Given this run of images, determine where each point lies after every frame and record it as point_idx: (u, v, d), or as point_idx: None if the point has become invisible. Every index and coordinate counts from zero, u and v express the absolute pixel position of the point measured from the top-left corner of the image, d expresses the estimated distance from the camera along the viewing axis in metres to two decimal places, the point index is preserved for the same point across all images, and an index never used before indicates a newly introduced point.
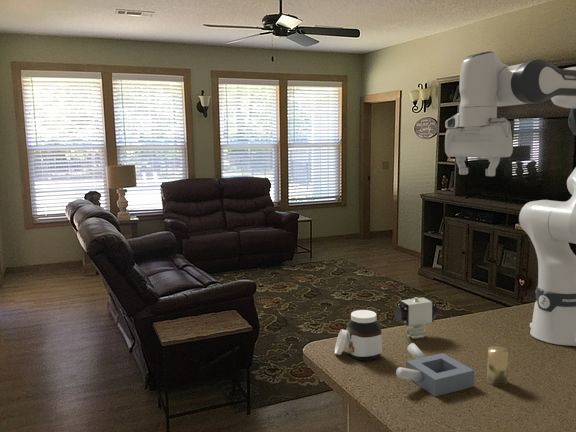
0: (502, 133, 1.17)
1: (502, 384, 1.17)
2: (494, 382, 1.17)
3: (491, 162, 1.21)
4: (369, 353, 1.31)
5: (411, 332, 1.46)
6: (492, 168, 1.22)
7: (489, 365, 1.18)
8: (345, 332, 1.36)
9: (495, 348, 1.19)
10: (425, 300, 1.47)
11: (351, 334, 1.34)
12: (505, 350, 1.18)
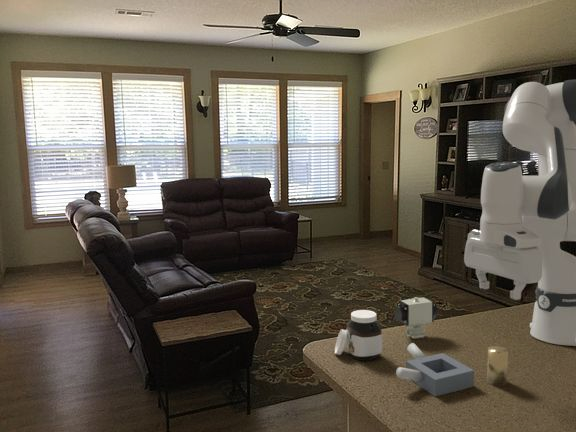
0: None
1: (502, 384, 1.17)
2: (494, 382, 1.17)
3: None
4: (369, 353, 1.31)
5: (411, 332, 1.46)
6: None
7: (489, 365, 1.18)
8: (345, 332, 1.36)
9: (495, 348, 1.19)
10: (425, 300, 1.47)
11: (351, 334, 1.34)
12: (505, 350, 1.18)
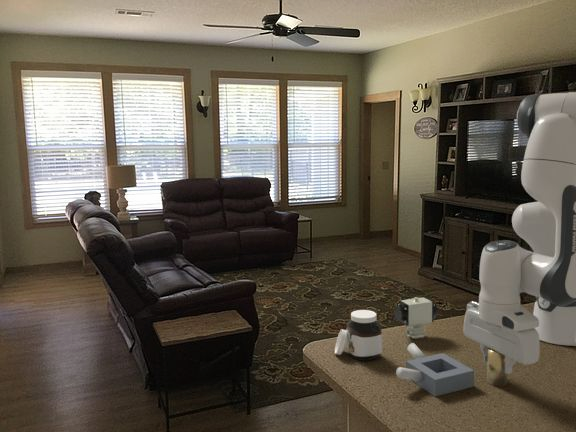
0: None
1: (502, 384, 1.17)
2: (494, 382, 1.17)
3: None
4: (369, 353, 1.31)
5: (411, 332, 1.46)
6: None
7: (489, 365, 1.18)
8: (345, 332, 1.36)
9: None
10: (425, 300, 1.47)
11: (351, 334, 1.34)
12: None
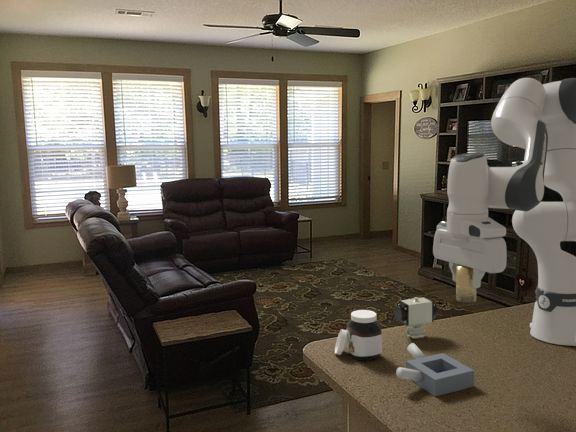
0: None
1: (471, 300, 1.14)
2: (463, 298, 1.15)
3: None
4: (369, 352, 1.31)
5: (411, 332, 1.46)
6: None
7: (458, 281, 1.16)
8: (345, 332, 1.36)
9: None
10: (425, 300, 1.47)
11: (351, 334, 1.34)
12: None
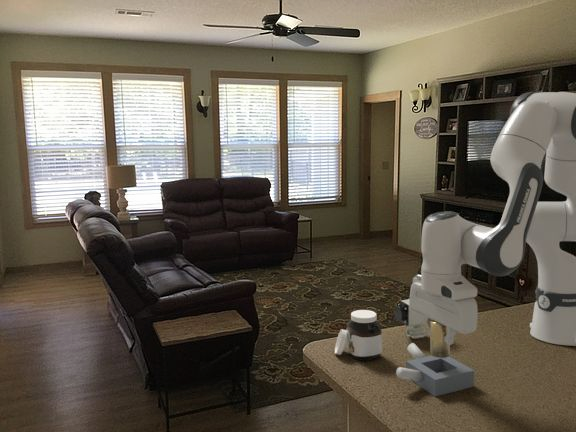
0: None
1: (444, 355, 1.17)
2: (436, 353, 1.17)
3: None
4: (369, 353, 1.31)
5: (411, 332, 1.46)
6: None
7: (431, 337, 1.18)
8: (345, 332, 1.36)
9: None
10: None
11: (351, 334, 1.34)
12: None
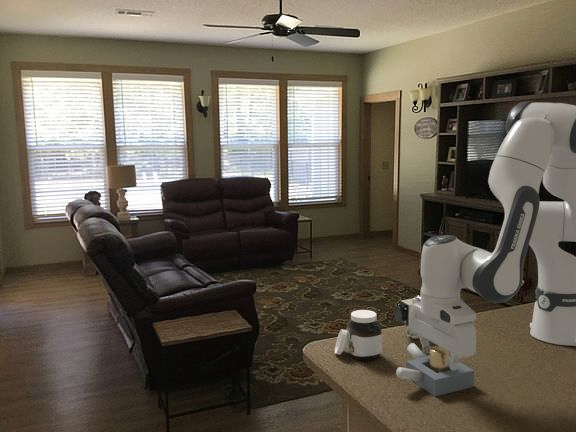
0: None
1: None
2: None
3: None
4: (369, 352, 1.31)
5: (411, 332, 1.46)
6: None
7: (431, 365, 1.19)
8: (345, 332, 1.36)
9: (437, 348, 1.20)
10: None
11: (351, 334, 1.34)
12: (446, 350, 1.19)
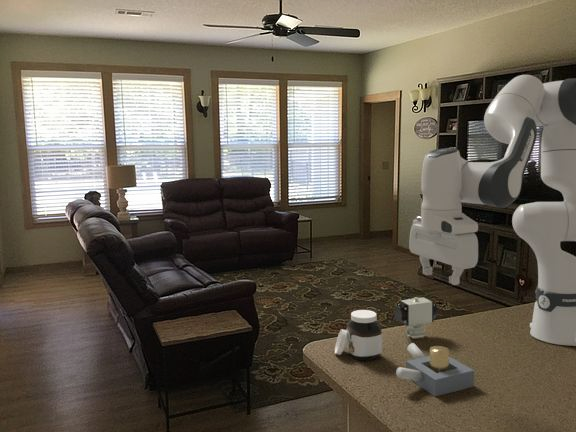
0: None
1: None
2: None
3: None
4: (369, 352, 1.31)
5: (411, 332, 1.46)
6: None
7: (431, 365, 1.19)
8: (345, 332, 1.36)
9: (437, 348, 1.20)
10: (425, 300, 1.47)
11: (351, 334, 1.34)
12: (446, 350, 1.19)
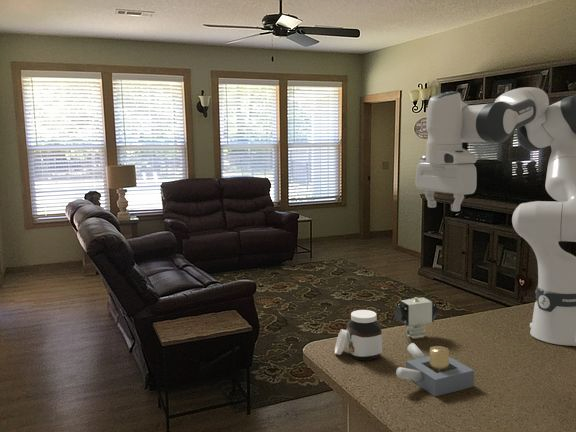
0: None
1: None
2: None
3: None
4: (369, 352, 1.31)
5: (411, 332, 1.46)
6: None
7: (431, 365, 1.19)
8: (345, 332, 1.36)
9: (437, 348, 1.20)
10: (425, 300, 1.47)
11: (351, 334, 1.34)
12: (446, 350, 1.19)
